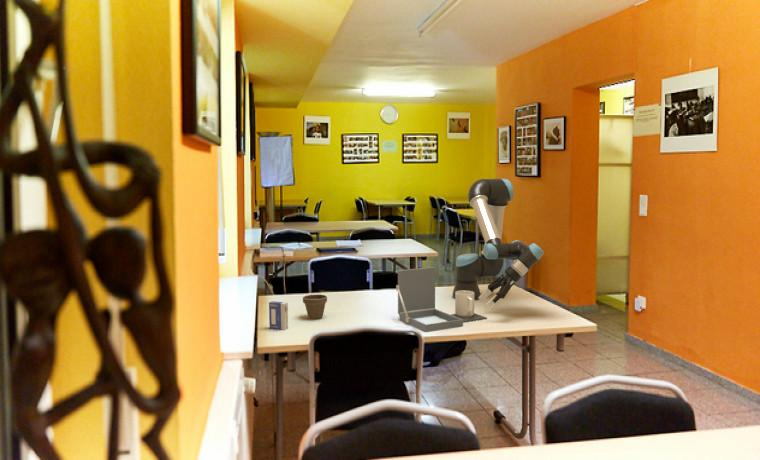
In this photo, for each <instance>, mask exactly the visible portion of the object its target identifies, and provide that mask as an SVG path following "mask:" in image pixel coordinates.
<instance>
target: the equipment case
mask: <svg viewBox="0 0 760 460" xmlns="http://www.w3.org/2000/svg"><path fill="white" fill-rule="evenodd" d="M395 288H396V289H395V290H396V291H397V314H398V316H399V317H398V318H399V319H398V320H399V321H401V322H403V323H405V324H407V325H409V326H411V327H414V328H416V329H418V330H420V331H422V332H423V333H424V332H425V333H427V332H434V331H435V332H436V331H440V330H446V329H447V330H448V329H454V328H459V327H464V323H463V319H460V318H458V317H455V316H452V315H451V314H449V313H447V312H445V311H442V310H439V309H436V267H435V266H433V267H432V266H431V267H420V268H410V269H409V268H408V269H399V270H397V284H396V285H395ZM427 317H436V318H440V319H442V320H445V321H442V322H433V323H427V324H426V323H424V322H421V321H419V320H417V319H420V318H427Z"/></svg>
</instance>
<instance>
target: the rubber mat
mask: <svg viewBox="0 0 760 460" xmlns="http://www.w3.org/2000/svg"><path fill="white" fill-rule="evenodd" d="M450 315H452V316H455V317H458V316H457V315H456V314H455V313H452V314H450ZM458 318H460V319H463V324H464V323H469V322H470V321H471V322H475V321H476V320H477V321H481V320H483V319H484V320H488V317H487V316H483V315H481V314H478V313H475V312H474V315H473V316H472V317H467V318H464V317H458ZM484 320H483V321H484Z"/></svg>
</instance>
